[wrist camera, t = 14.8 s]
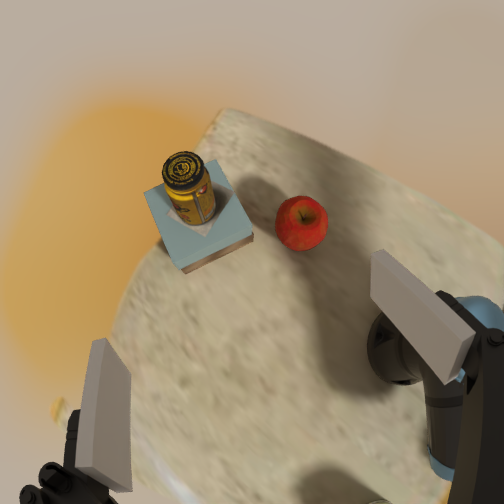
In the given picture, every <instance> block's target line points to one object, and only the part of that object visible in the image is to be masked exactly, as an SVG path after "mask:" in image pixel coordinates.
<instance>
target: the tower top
mask: <svg viewBox="0 0 504 504" xmlns="http://www.w3.org/2000/svg"><path fill="white" fill-rule="evenodd" d="M204 166H205V167H206V168H207V170H208V172H209V175H210V179H211V181H214V182H216V183H218V184H220V185H222V186H224V187H226V188H228V189H230V190H232V191H233V189H232V187H231V185H230V184H229V182H228V180H227V178H226V176H225V175H224V173H223V171H222V169H221V167H220V166H219V164H218V162H217V160H216V159H215V160H213V161H211V162H208V163H206V164H204ZM144 195H145V198H146V200H147V203H148V205H149V208H150V210H151V213H152V215H153V218H154V220H155V222H156V225H157V227H158V229H159V232H160V234H161V237H162V239H163V241H164V244H165V246H166V248H167V251H168V253H169V255H170V258H171V260H172V262H173V264H174V265H175V266H176V267H177V268H178V269H179V270H180V269H182V268H184V267H186V266H188V265H190V264H192V263H194V262H196V261H198V260H200V259H202V258H204V257H207V256H209V255H211V254H213V253H215V252H217V251H219V250H221V249H223V248H225V247H227V246H229V245H231V244H233V243H235V242H237V241H239V240H242V239H244V238H246V237H248V236H250V235H252V223H251V221H250V220H249V218H248V216H247V214H246V212H245V211H244V209H243V207H242V205H241V203H240V202H239V200H238V198H237V196H236V194H235V193H234V194H233V195H232V197H231V199H230V200H229V202H228V203H227V205H226V206H225V208H224V209H223V211H222V212H221V214H220V215H219V217H218V218H217V220H216V222H215V223H214V225H213V226H212V228H211V229H210V231H209V232H208V234H207V235H206V237H204V236H202V235H201V234H199V233H197V232H195V231H193V230H192V229H190V228H188V227H186V226H184V225H183V224H181V223H179V222H178V221H176V220H174V219H172V218H171V217H169V216H167V215H166V214H167V213H168V212H169V210H170V209H171V207H172V206H173V204H172V202H171V200H170V198H169V196H168V194H167V193H166V190H165V186H164V183H163V184H161V185H159V186H156V187H154V188H153V189H150V190H149V191H146V192H144Z"/></svg>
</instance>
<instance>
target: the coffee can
mask: <svg viewBox="0 0 504 504" xmlns="http://www.w3.org/2000/svg"><path fill="white" fill-rule="evenodd" d="M368 504H392V503H391V502H389V501H385V500H378V501H373V502H370V503H368Z"/></svg>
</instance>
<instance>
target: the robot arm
mask: <svg viewBox="0 0 504 504" xmlns="http://www.w3.org/2000/svg"><path fill="white" fill-rule="evenodd" d="M370 298H371V299H372V300H373V301H374V302H375V303H376V304H377V305H378V307H379V308H380V309H381V310H382V311H383V312H382V313H381V314H380V315H379V316H378V317H377V318H376V320H375V321H374V323H373V325H372V327H371V330H370V333H369V337H368V343H367V351H368V357H369V361H370V364H371V366H372V368H373V370H374V371H375V373H376V374H377V375H378V376H379V377H380V378H381V379H383V380H384V381H386V382H389V383H392V384H396V385H402V386H405V385H412V384H415V383H418V382H420V381H422V380H423V385H424V393H425V403H426V414H427V428H428V445H427V447H428V452H429V454H430V464H431V467H432V469H433V470H434V472H435V473H436V474H437V475H438V476H439V477H441V478H442V479H445V480H448V481H452V485H451V490H450V494H449V499H448V503H447V504H504V313H503V311H502V310H501V309H500V308H499V306H498V305H496V304H494V303H493V302H492V301H491V300H490V299H488V298H485V297H482V296H469V297H457V298H454V297H453V296H452V295H450V294H448V293H446V292H444V291H441V290H440V291H438V292H436V293H434V292H433V291H431V290H430V289H429V288H428V287H427V286H426V285H425V284H424V283H422V282H421V281H420V280H419V279H418V278H417V277H416V276H415V275H413V274H412V273H411V272H410V271H409V270H408V269H406V268H405V267H404V266H403V265H402V264H401V263H399V262H398V261H397V260H396V259H395V258H394V257H392V256H391V255H390V254H389V253H388V252H386V251H385V250H384V249H383V250H380V251H377V252H374V253H372V254H371V288H370ZM130 402H131V373H130V372H129V370H128V369H127V367H126V366H125V365H124V363H123V362H122V361H121V359H120V358H119V356H118V355H117V353H116V352H115V351H114V349H113V348H112V346H111V345H110V343H109V342H108V340H107V339H106V338H103V339H99V340H95V341H93V342H92V346H91V351H90V356H89V362H88V367H87V372H86V378H85V384H84V390H83V396H82V404H81V409H79V410H73V412H72V414H71V416H70V418H69V420H68V427H67V432H68V433H67V435H66V440H67V441H66V443H65V452H64V463H63V467H62V466H61V465H59V464H58V463H55V462H48V463H47V464H45V465H44V466H43V467H42V468H41V470H40V472H39V483H40V486H41V487H43V488H41V489H39V488H37V487H35V486H34V485H26V486H25V487H23V489H22V490H21V492H20V497H19V499H20V504H118V503H117V502H116V501H115V500H114V498H112V497H111V496H110V495H109V489H111V490H113V491H114V492H116V493H120V492H132V491H133V490H132V473H131V445H130Z"/></svg>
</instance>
